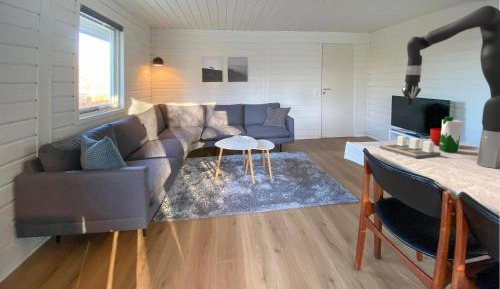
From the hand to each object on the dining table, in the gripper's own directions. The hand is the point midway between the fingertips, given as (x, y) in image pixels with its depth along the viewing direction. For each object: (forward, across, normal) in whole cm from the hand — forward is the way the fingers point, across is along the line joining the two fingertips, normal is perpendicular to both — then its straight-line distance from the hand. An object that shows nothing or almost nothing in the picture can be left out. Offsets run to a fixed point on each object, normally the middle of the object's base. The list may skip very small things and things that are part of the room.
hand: (409, 104), depth 169 cm
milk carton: (+27, +21, -12) cm, 36 cm away
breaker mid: (+25, +2, -5) cm, 26 cm away
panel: (+27, -2, -5) cm, 27 cm away
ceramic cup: (+27, +33, 0) cm, 43 cm away
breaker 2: (+25, +2, -14) cm, 29 cm away
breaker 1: (+25, +2, +4) cm, 26 cm away
